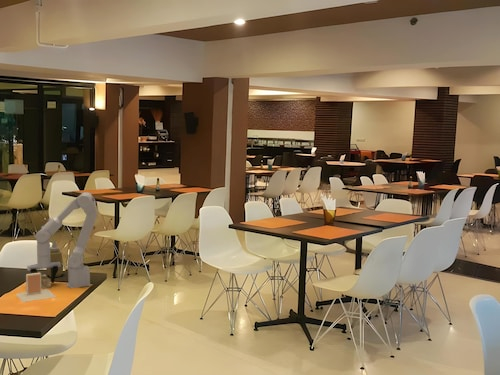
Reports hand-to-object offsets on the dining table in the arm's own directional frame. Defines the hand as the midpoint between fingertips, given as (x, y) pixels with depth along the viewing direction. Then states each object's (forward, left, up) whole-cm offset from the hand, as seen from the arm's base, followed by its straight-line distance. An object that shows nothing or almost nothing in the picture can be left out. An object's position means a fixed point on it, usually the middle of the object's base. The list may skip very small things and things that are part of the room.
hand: (44, 283), depth 260 cm
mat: (+7, +13, -1) cm, 15 cm away
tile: (+7, +10, -1) cm, 12 cm away
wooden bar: (0, 0, -2) cm, 2 cm away
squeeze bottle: (-9, -16, -2) cm, 18 cm away
